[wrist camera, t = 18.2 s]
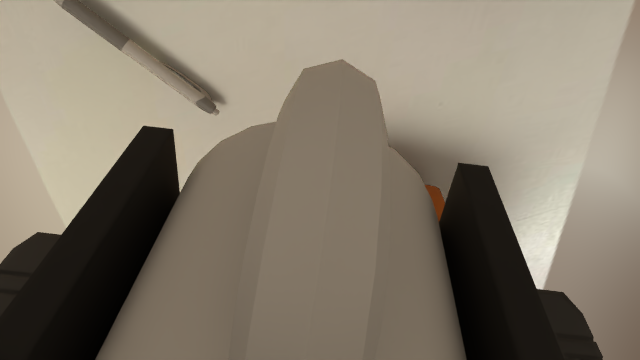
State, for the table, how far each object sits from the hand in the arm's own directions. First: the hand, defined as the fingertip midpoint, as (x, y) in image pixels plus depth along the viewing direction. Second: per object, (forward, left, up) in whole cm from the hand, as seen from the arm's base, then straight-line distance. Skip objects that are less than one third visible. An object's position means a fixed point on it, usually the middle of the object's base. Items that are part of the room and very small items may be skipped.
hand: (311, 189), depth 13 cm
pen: (+6, -14, -21) cm, 26 cm away
